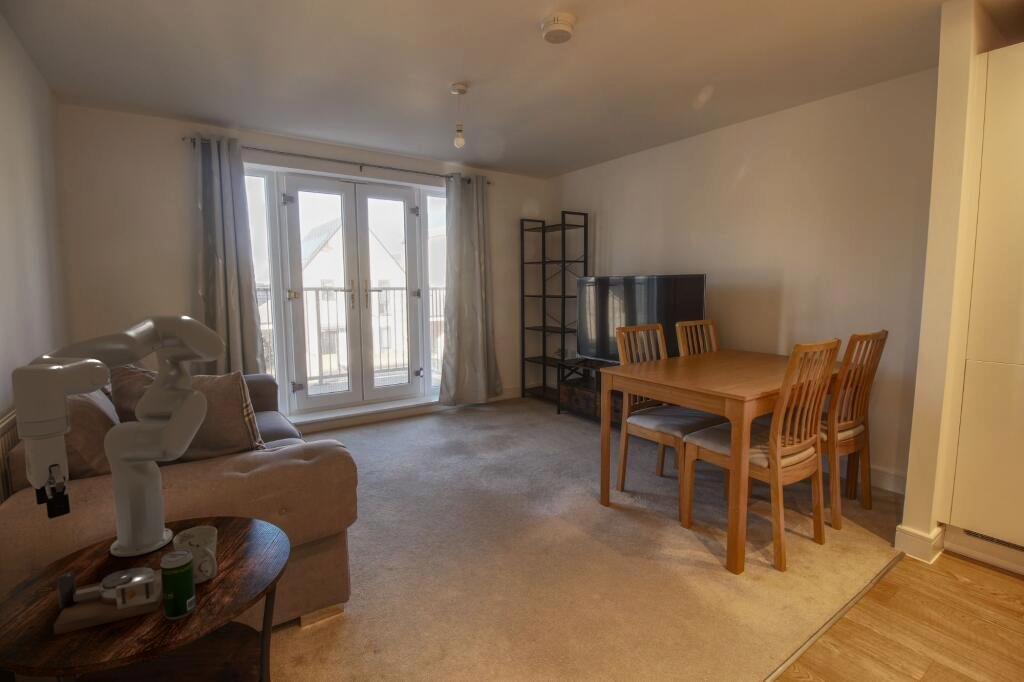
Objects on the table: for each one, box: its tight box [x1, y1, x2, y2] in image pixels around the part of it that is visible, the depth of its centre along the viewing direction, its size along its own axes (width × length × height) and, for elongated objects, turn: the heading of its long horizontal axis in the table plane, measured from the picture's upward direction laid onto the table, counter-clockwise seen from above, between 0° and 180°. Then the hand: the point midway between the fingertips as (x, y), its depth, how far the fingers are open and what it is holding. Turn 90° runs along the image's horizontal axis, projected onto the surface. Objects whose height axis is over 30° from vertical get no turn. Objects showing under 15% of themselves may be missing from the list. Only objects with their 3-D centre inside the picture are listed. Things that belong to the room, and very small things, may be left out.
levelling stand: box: [53, 569, 163, 636], centre depth 100 cm, size 14×16×6 cm
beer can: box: [159, 549, 197, 621], centre depth 98 cm, size 5×5×12 cm
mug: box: [172, 525, 218, 585], centre depth 109 cm, size 8×13×10 cm, turn 60°
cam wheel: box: [56, 566, 155, 609], centre depth 100 cm, size 15×9×6 cm, turn 117°
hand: (53, 508), depth 99 cm, fingers open, 9 cm apart
